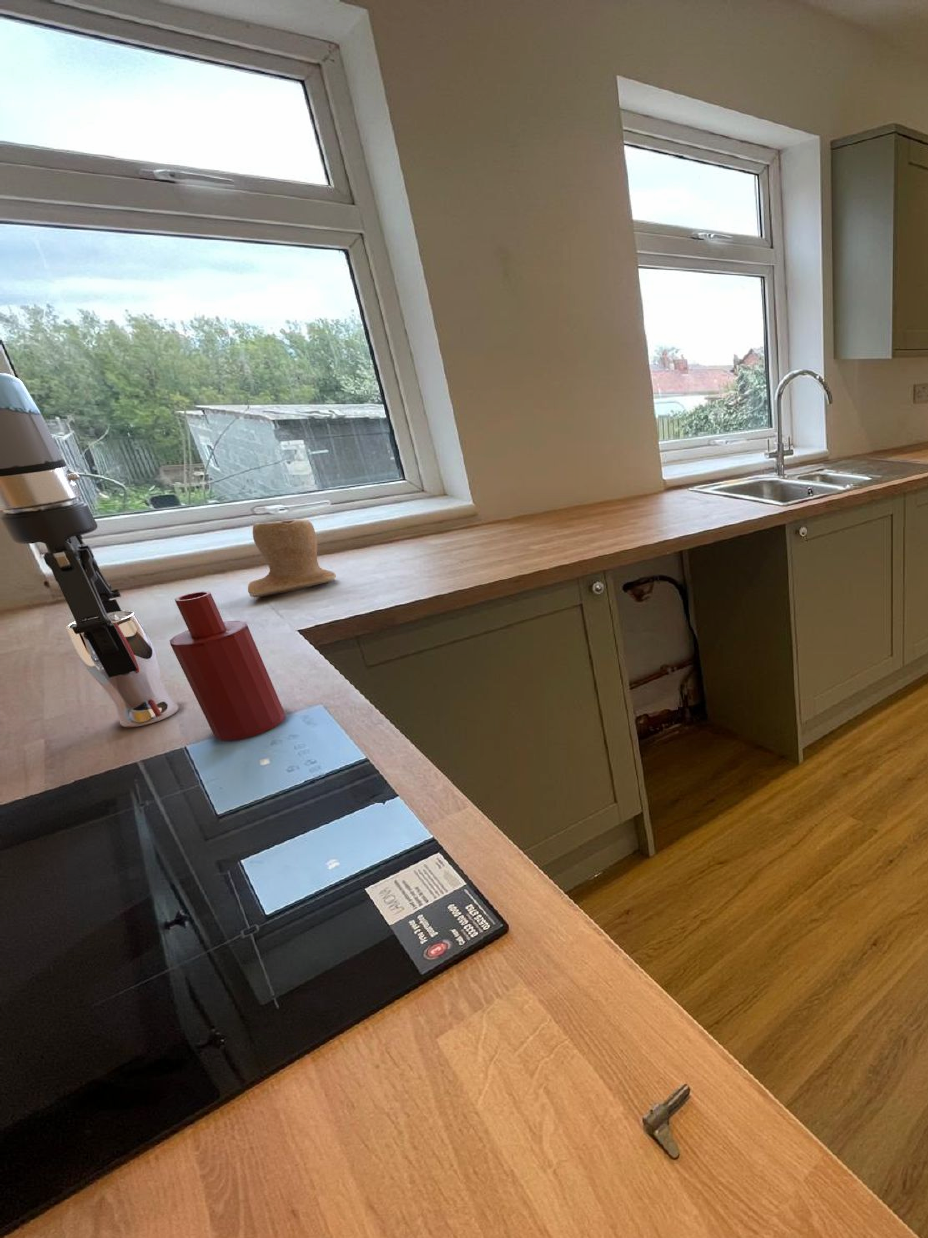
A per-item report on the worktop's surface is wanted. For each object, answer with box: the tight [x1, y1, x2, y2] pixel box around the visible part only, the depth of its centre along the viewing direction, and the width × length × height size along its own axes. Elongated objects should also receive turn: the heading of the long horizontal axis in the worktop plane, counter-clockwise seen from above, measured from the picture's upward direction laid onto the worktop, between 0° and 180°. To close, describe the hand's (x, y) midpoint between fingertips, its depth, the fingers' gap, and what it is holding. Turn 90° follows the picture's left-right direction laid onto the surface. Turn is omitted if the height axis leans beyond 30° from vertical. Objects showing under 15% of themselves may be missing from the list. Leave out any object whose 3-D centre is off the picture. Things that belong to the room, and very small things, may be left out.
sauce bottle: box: [169, 590, 286, 742], centre depth 88 cm, size 8×8×19 cm
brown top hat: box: [247, 518, 337, 598], centre depth 144 cm, size 15×12×15 cm
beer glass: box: [65, 609, 180, 728], centre depth 93 cm, size 7×7×15 cm
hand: (124, 658), depth 92 cm, fingers open, 13 cm apart
